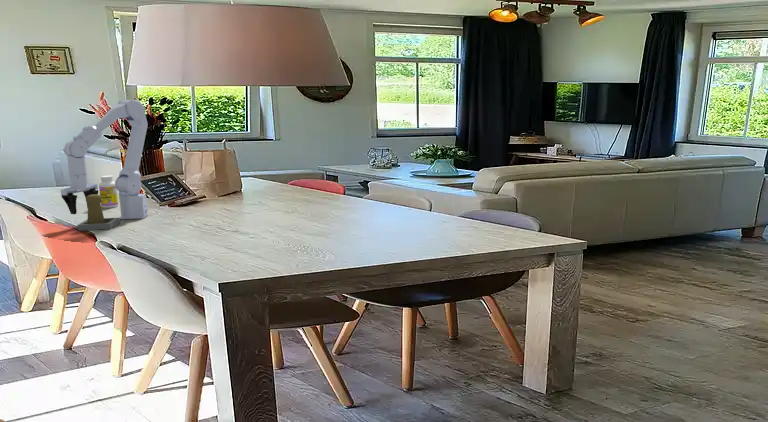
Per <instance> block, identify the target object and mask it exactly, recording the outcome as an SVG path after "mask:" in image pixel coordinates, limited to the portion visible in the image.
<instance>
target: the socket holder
mask: <svg viewBox="0 0 768 422" xmlns="http://www.w3.org/2000/svg"><path fill="white" fill-rule="evenodd" d="M104 220H105V223H98V224H87V221H88V218H87V219H85V220H84V221H82V222H80V223H79V224H77V231H78V232H79V231H81V232H82V231H99V230H98V229H104V230H112V229H113V228H115V227H116V226H117V225H118V224H120V223H121V221H120V219H119V217H104ZM111 228H112V229H111Z"/></svg>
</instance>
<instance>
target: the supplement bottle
mask: <svg viewBox="0 0 768 422" xmlns="http://www.w3.org/2000/svg"><path fill="white" fill-rule="evenodd" d="M113 179H114V176H113V175H102V176H100V180H101V182H100V183H99V184H98V191H99V195H100V196H101V198H102V201H101V203H100V204H101V208H102V209H111V208H117V207H118V206H119V200H118V199H119V197H118V190H117V189H116V187H115V181H114V180H113Z"/></svg>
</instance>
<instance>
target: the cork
mask: <svg viewBox="0 0 768 422" xmlns="http://www.w3.org/2000/svg"><path fill="white" fill-rule="evenodd" d="M101 201H102V198H101V196H100V194H92V195H88V196H87V197H86V198H85V202H86V205H87V204H88V208H87V219H88V221H87V224H98V223H105V220H104V218H105V217H104V213H103V210H102V209H103V208H102V207H101Z"/></svg>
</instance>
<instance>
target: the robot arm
mask: <svg viewBox="0 0 768 422" xmlns="http://www.w3.org/2000/svg"><path fill="white" fill-rule="evenodd" d="M145 112H146V108H145V105H143V104H142V102H141V101H140V100H138V99H121V100H119V101H118V102H117V103H115V104H114V105H112V107H111V108H110V109H109V110H108V111H107V112H106V113H105V114H104V115H103V116H102V117H101V118H100V119H99V120H98V121H97V122H96V123H95V124H94V125H87V126H84V127H82V131H81V132H80V133H78V134H77V135H75V136H73V137H72V139H73V140H69V141H66V143H65V145H64V147H63V153H64V154H65V155H66V156H67V157H66V158H67V166H68V175H69V183H70V186H69V187H67V188H62V189H60V195H61V199H63V201H64V202H65V204H66V206H67V208H68V210H69V212H70V215H77V212H78V211H77V198H78V194H77V193H83V194H84V197H85V199H86V197H87V196H88V195H92V194H97V195H99V184H98V183H91V184H89V182H88V181H89V180H88V174H87V173H88V172H87V167H86V165H87V164H86V155H87V153H88V150H89V149H90V148H91V147H92V146H93V145H94V144H95V143H96V142H98V141H99V139H101V137H102V132H104V130H106V129H107V128H109V127H110V126H111V125H112V124H113V123H115V122H116V121H117V120H119V119H125V120H126V121H127V122H128V123H129V125H130V126H131V128H130V129H131V131H130V135H129V140H128V144H127V148H126V154H125V159H124V163H123V167H122V169H121V170H120V171H119V175H118V177H117V178H116V179H115V181H114V182H115V187H116V189H117V192H118V199H119V200H118V201H119V208H120V216H119V217H118V218H119V220H135V219H136V220H137V219H138V220H139V219H144V218H145V219H146V217H147V216H149V208H148V199H147V195H146V194H145V193H140V191H141V190H142V181H141V180H142V179H141V178H142V174H141V173H140V165H141V161H142V154H143V151H144V145H145V140H146V135H147V131H148V120H147V115H146V113H145ZM75 194H77V195H75ZM86 207H87V209H88V204H87V203H86Z"/></svg>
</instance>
